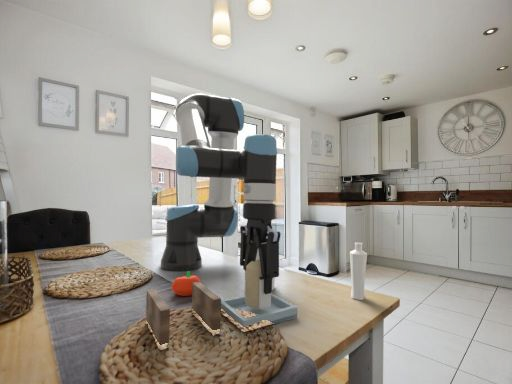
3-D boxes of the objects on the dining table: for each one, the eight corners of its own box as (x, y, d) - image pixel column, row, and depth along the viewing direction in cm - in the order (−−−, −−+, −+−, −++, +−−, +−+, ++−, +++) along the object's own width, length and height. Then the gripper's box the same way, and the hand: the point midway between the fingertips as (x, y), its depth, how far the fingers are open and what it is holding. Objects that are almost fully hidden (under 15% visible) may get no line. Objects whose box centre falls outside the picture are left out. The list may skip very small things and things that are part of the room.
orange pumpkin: (169, 295, 76) (169, 271, 76) (197, 290, 79) (197, 268, 80) (174, 300, 69) (174, 274, 70) (205, 295, 73) (204, 271, 74)
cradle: (145, 323, 58) (146, 290, 58) (198, 311, 64) (199, 281, 64) (159, 351, 48) (160, 310, 48) (220, 334, 54) (221, 298, 54)
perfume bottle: (355, 301, 72) (356, 244, 73) (346, 295, 77) (347, 241, 77) (370, 299, 74) (371, 244, 74) (360, 294, 78) (361, 241, 78)
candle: (255, 297, 67) (256, 256, 67) (273, 303, 64) (274, 260, 64) (240, 303, 63) (241, 260, 63) (258, 310, 59) (259, 264, 59)
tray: (218, 311, 64) (218, 300, 64) (266, 299, 72) (267, 290, 72) (243, 333, 54) (244, 321, 54) (297, 317, 62) (297, 306, 62)
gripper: (227, 200, 69) (224, 292, 69) (269, 203, 54) (266, 322, 53) (252, 201, 73) (250, 287, 73) (298, 203, 58) (296, 313, 57)
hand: (257, 302), depth 63 cm, fingers closed on candle, 5 cm apart
